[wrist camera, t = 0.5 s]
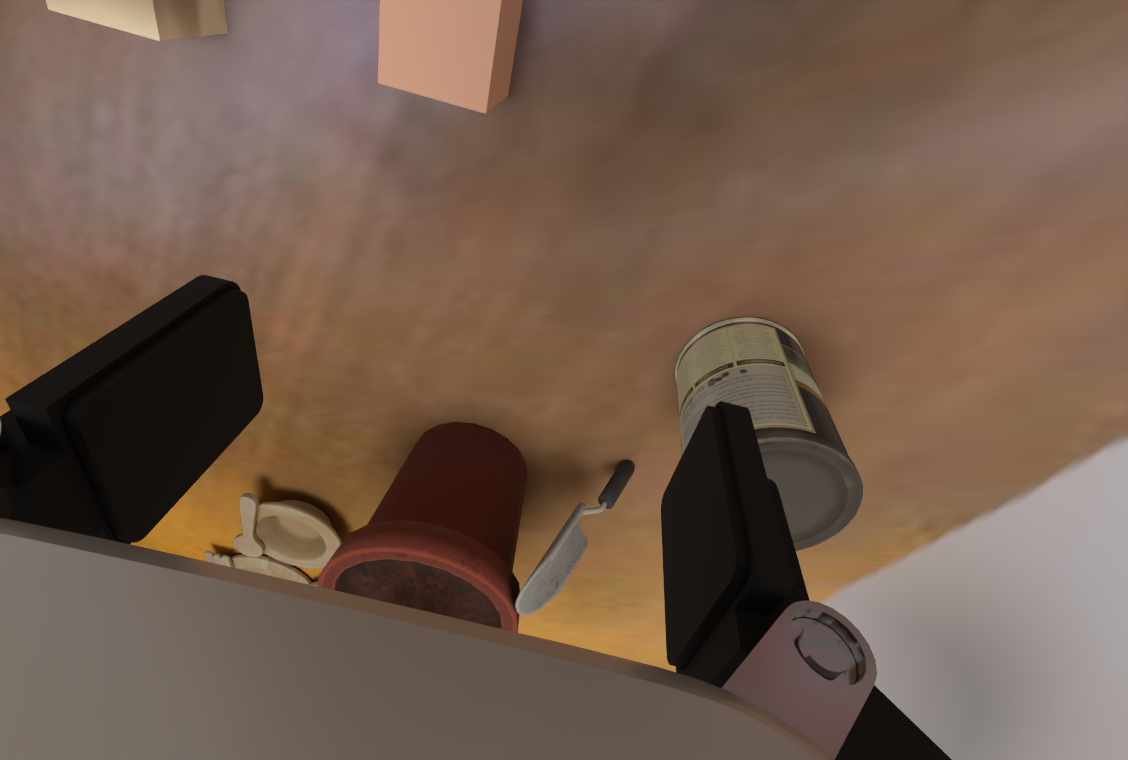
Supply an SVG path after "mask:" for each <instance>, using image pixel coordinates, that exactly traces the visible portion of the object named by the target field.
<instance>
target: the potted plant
mask: <svg viewBox="0 0 1128 760" xmlns="http://www.w3.org/2000/svg"><path fill="white" fill-rule="evenodd" d="M633 472H634V467H633V465H632V464H631V463H629V462H627V461H623V462H621V463H620V465H619V466H618V468H617V469H616V471H615V472H614V474H613V476H612V477H611V479H610V480H609V482H608V483H607V485H606V487H605V488H604V490H603V491H602V493H601V494H600V496H599V498H598V501H599V504H600V506H599V507H596V508H588V509H584V507H585V504H584V503H579V504H578V506H577V507H576V508H575V510H574V511H573V513H572V514H571V516H570V518H569V519H568V521H567V522H566V524H565V525H564V527H563V528H562V530H561V531H560V533H559V534H558V536H557V537H556V539H555V540H554V542H553V543H552V545H551V546H550V548H549V549H548V551H547V552H546V554H545V555H544V557H543V558H542V560H541V561H540V563H539V564H538V566H537V567H536V569H535V570H534V572H533V573H532V575H531V576H530V578H529V579H528V581H527V582H526V584H525V585H524V587H523V588H522V590H521V591H520V589H519V582H518V581H517V579H516V577H515V576H514V574H513V572H512V570H513V564H514V557H515V551H516V544H517V538H518V531H519V524H520V518H521V511H522V505H523V498H524V491H525V485H526V478H527V474H526V464H525V461H524V459H523V457H522V455H521V453H520V451H519V450H518V449H517V448H516V447H515V446H514V445H513V444H512V443H511V442H510V441H509V440H508V439H507V438H505V437H503V436H502V435H500V434H498V433H497V432H495V431H493V430H492V429H489V428H485V427H482V426H479V425H476V424H471V423H458V422H453V423H448V424H443V425H438V426H436V427H434V428H432V429H430V430H429V431H427V432H425V433H424V434H423V436H422V437H421V438H420V439H419V441H418V442H417V443H416V445H415V447H414V448H413V450H412V452H411V453H410V455H409V456H408V458H407V460H406V461H405V463H404V465H403V466H402V468H401V470H400V471H399V473H398V475H397V476H396V478H395V480H394V481H393V483H392V485H391V486H390V488H389V490H388V491H387V493H386V494H385V496H384V498H383V499H382V501H381V503H380V504H379V506H378V508H377V509H376V511H375V513H374V514H373V516H372V518H371V519H370V521H369V523H368V524H367V525H366V526H364V527H362V528H360V529H358V530H356V531H353V532H351V533H349V534H348V536H347V537H346V538H345V540H344V541H343V542H342V543H341V545H340V546H339V547H338V548H337V550H336V551H335V553H334V554H333V556H332V557H331V559H330V560H329V562H328V563H327V564H326V566H325V567H324V569H323V570H322V572H321V573H320V575H319V578H318V587H322V588H326V589H330V590H335V591H339V592H344V593H348V594H352V595H357V596H361V597H365V598H370V599H374V600H378V601H383V602H387V603H392V604H396V605H400V606H405V607H409V608H413V609H418V610H422V611H427V612H431V613H435V614H439V615H444V616H448V617H452V618H457V619H461V620H465V621H469V622H474V623H478V624H482V625H487V626H491V627H495V628H499V629H504V630H508V631H512V632H517V633H518V623H519V614H520V615H529V614H532V613H534V612H536V611H537V610H539V609H541V608H542V607H543V606H544V605H546V604H547V603H548V602H549V601H551V600H552V599H553V598H554V597H555V596H557V595H558V594H559V593H560V591H561V589H562V588H563V586H564V584H565V583H566V581H567V579H568V578H569V576H570V575H571V573H572V571H573V570H574V568H575V566H576V565H577V563H578V561H579V560H580V558H581V556H582V555H583V553H584V551H585V550H586V548H587V546H588V540H587V538H586V536H585V535H584V533H583V532H582V530H581V528H580V525H579V522H578V520H579V518H580V517H581V516H582V515H587V514H595V513H600V512H602V511H603V510H604V509H605V508H607V509H610V508H612V507H613V506H614V504H615V502H616V501H617V499H618V497H619V496H620V494H621V492H622V491H623V489H624V487H625V486H626V484H627V482H628V481H629V479H630V477H631V476H632V474H633Z"/></svg>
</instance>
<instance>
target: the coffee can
mask: <svg viewBox="0 0 1128 760" xmlns="http://www.w3.org/2000/svg"><path fill="white" fill-rule="evenodd" d="M675 380H676V385H677V395H678V408H679V421H680V430H681V446H682V455H683V453H684V451H685V449H686V447H687V445H688V443H689V441H690V439H691V436H692V434H693V432H694V430H695V428H696V426H697V424H698V422H699V420H700V418H701V416H702V414H703V412H704V410H705V408H706V407H707V406H713V407H715V405H716V404H717V403H718V402H719V401H723V402H727V403H731V404H735V405H739V406H743V407H747V408H748V409H749V411H750V414H751V418H752V421H753V425H754V429H755V433H756V437H757V440H758V444H759V448H760V452H761V456H762V459H763V463H764V467H765V471H766V475H767V478H768V479H771V480H773V481H774V482H775V483H776V485H777V488H778V490H779V494H780V497H781V501H782V504H783V508H784V512H785V515H786V519H787V522H788V526H789V529H790V533H791V537H792V540H793V544H794V547H795V551H798V550H802V549H805V548H808V547H812V546H814V545H817V544H819V543H821V542H823V541H825V540H827V539H829V538H831V537H832V536H834V535H835V534H837V533H838V532H840V531H841V530H842V529H843V528H844V527H845V526H846V525H847V524H849V522H850V521H851V520H852V519H853V517H854V516H855V515H856V513H857V511H858V509H859V507H860V504H861V501H862V497H863V486H862V480H861V478H860V475H859V473H858V471H857V469H856V467H855V465H854V463H853V462H852V460H851V459H850V458H849V456H848V453H847V451H846V449H845V447H844V445H843V443H842V440H841V438H840V436H839V433H838V431H837V429H836V427H835V424H834V422H833V420H832V418H831V415H830V413H829V411H828V409H827V406H826V404H825V402H824V400H823V397H822V395H821V393H820V391H819V388H818V386H817V384H816V382H815V379H814V377H813V375H812V372H811V370H810V368H809V366H808V364H807V361H806V359H805V355H804V352H803V349H802V347H801V345H800V343H799V342H798V340H797V339H796V337H795V336H794V335H793V334H792V333H791V332H790V331H788V330H787V329H785V328H784V327H782V326H781V325H779V324H777V323H775V322H772V321H769V320H766V319H761V318H753V317H741V318H733V319H727V320H724V321H720V322H717V323H715V324H713V325H711V326H709V327H707V328H705V329H703V330H702V331H700V332H699V333H698V334H696V335H695V336H694V337H693V338H692V339H691V340H690V341H689V342H688V343H687V344H686V345H685V347H684V348H683V350H682V351H681V353H680V355H679V358H678V360H677V363H676V368H675Z"/></svg>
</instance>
